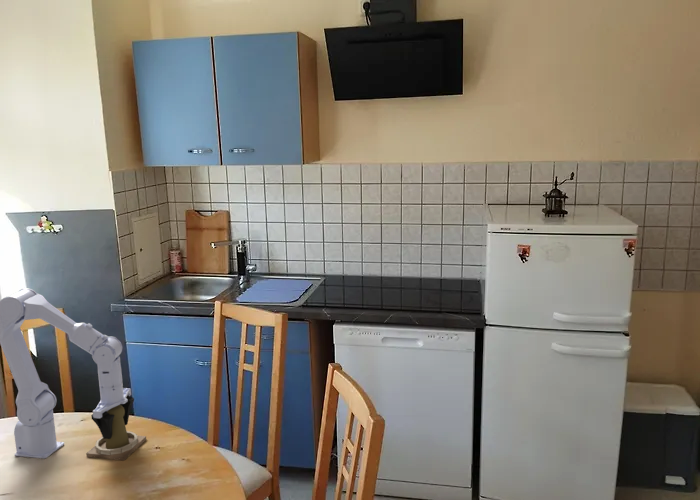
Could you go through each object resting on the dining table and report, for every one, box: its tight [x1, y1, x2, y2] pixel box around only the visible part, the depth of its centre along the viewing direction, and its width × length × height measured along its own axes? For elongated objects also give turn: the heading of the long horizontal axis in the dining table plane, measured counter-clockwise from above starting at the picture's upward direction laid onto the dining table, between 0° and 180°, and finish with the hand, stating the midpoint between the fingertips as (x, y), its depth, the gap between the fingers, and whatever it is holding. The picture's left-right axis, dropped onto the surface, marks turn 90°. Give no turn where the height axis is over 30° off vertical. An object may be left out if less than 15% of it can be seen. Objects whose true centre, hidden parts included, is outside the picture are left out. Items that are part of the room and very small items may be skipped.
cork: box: [106, 405, 129, 449], centre depth 160 cm, size 6×6×11 cm
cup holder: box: [85, 430, 147, 461], centre depth 161 cm, size 11×11×2 cm
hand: (115, 431), depth 160 cm, fingers open, 7 cm apart
